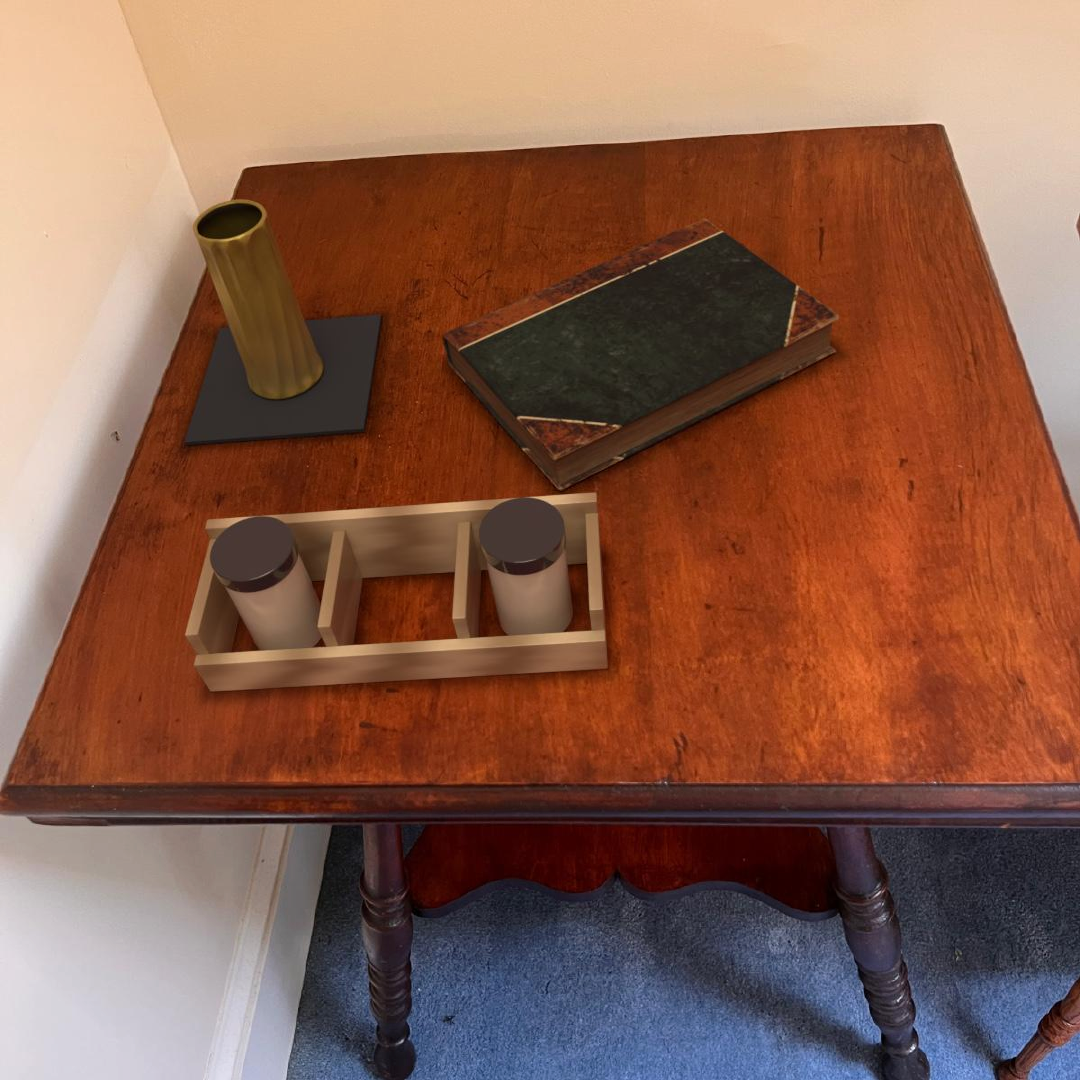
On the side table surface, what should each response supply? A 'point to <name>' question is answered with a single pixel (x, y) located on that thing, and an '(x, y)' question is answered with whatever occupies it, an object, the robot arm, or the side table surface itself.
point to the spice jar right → (527, 566)
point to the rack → (394, 550)
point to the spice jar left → (268, 583)
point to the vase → (258, 299)
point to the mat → (319, 411)
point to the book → (637, 349)
